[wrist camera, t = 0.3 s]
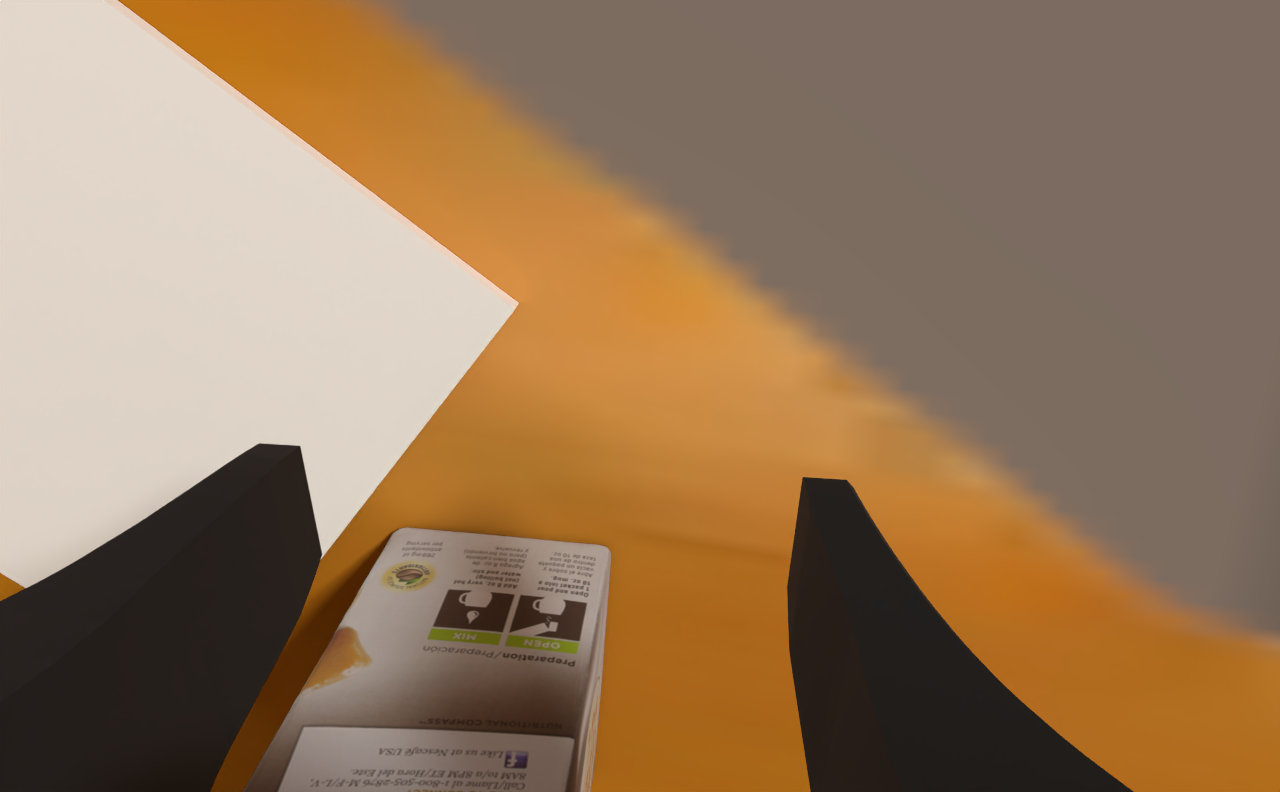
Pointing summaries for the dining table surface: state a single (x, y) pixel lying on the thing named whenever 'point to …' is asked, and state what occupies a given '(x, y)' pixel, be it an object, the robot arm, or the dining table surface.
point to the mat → (193, 292)
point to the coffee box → (455, 673)
